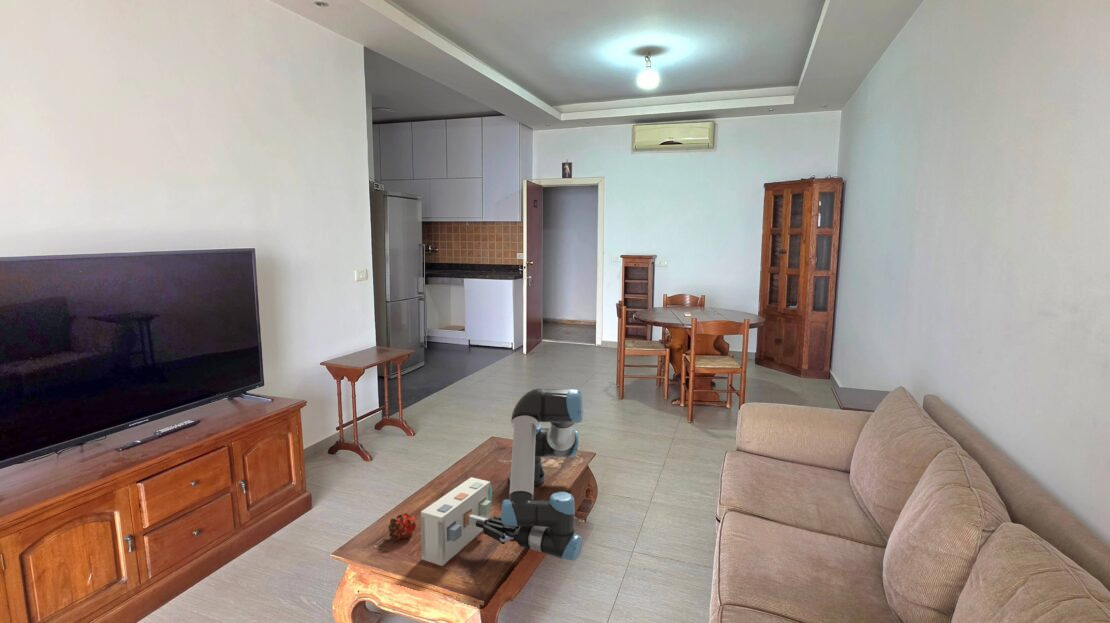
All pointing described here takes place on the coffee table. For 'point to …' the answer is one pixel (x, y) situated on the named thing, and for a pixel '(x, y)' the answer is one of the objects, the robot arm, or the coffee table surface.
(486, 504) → the sage button
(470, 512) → the terracotta button
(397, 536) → the dragon fruit
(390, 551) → the coffee table surface
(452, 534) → the slate button
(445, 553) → the button box
